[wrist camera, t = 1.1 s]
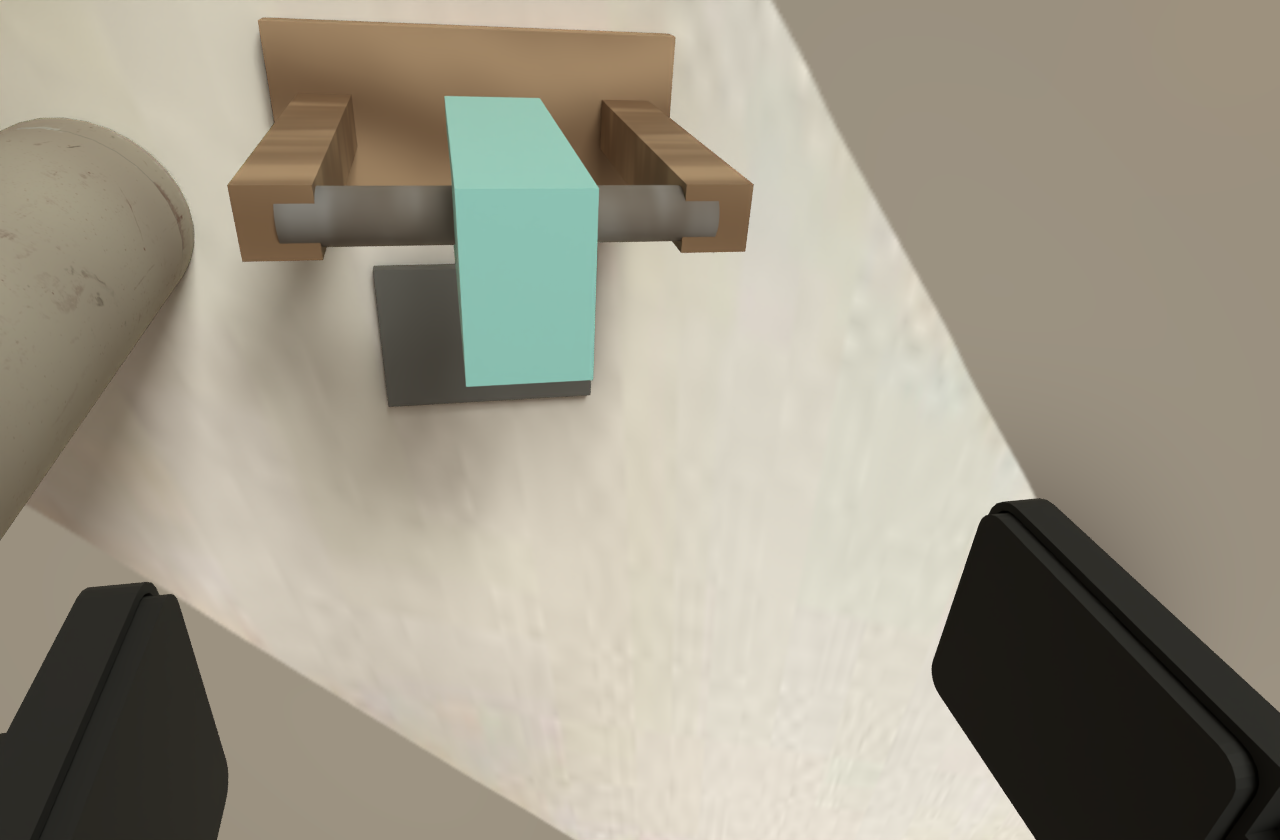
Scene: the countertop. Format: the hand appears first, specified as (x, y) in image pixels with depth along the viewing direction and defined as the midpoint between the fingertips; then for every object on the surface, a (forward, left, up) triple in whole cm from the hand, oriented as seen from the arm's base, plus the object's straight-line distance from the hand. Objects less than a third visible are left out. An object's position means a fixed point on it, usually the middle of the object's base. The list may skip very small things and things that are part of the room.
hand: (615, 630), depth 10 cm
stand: (0, 0, -30) cm, 30 cm away
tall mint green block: (0, 0, -21) cm, 21 cm away
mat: (+10, 0, -30) cm, 32 cm away
